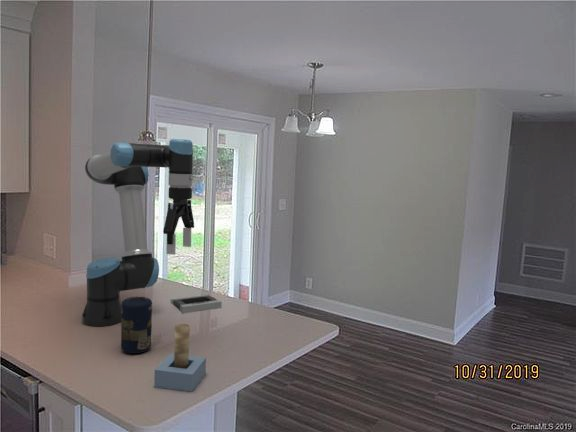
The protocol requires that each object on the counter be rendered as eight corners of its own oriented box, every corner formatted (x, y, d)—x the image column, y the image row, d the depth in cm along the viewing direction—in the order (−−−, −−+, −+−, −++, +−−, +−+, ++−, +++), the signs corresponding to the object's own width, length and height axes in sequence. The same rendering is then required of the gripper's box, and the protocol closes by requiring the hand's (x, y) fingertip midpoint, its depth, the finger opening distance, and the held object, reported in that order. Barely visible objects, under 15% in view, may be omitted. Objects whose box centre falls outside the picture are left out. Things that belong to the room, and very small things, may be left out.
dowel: (171, 378, 130) (172, 328, 128) (177, 372, 134) (178, 323, 132) (184, 380, 129) (186, 329, 127) (190, 374, 133) (191, 324, 131)
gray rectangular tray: (182, 306, 186) (170, 293, 200) (182, 317, 187) (169, 303, 201) (221, 301, 196) (207, 288, 209) (220, 311, 196) (206, 298, 210)
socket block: (154, 386, 127) (154, 369, 126) (170, 369, 138) (170, 353, 137) (192, 391, 125) (192, 374, 125) (205, 373, 136) (205, 357, 135)
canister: (125, 343, 155) (125, 292, 153) (154, 343, 156) (154, 292, 153) (117, 355, 145) (117, 300, 143) (147, 355, 146) (148, 301, 144)
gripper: (176, 189, 137) (174, 258, 140) (204, 185, 162) (202, 244, 164) (152, 188, 138) (151, 256, 141) (184, 184, 163) (183, 242, 165)
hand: (179, 250), depth 153 cm, fingers open, 13 cm apart
